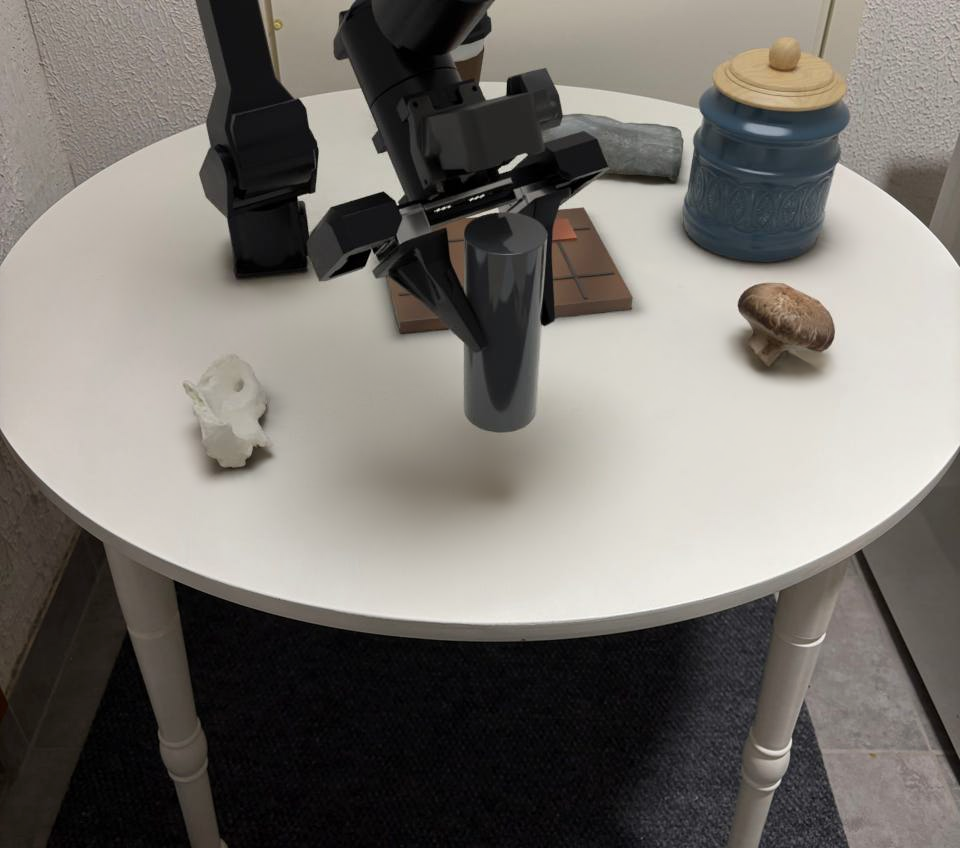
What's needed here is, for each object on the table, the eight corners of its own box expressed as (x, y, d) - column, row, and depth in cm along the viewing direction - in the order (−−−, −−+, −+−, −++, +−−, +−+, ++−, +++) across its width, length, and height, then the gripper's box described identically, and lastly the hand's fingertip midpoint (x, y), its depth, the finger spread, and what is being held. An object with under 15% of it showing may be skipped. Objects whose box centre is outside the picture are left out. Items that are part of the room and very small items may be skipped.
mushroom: (747, 355, 79) (786, 278, 78) (700, 334, 86) (736, 264, 85) (826, 393, 82) (866, 319, 81) (775, 370, 89) (811, 302, 88)
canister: (694, 266, 95) (727, 69, 82) (669, 197, 104) (696, 11, 92) (835, 264, 95) (889, 68, 83) (798, 195, 104) (842, 10, 92)
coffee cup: (403, 101, 120) (398, -10, 112) (497, 108, 119) (499, -3, 111) (382, 143, 112) (374, 27, 104) (482, 151, 111) (483, 34, 103)
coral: (260, 379, 82) (252, 332, 79) (283, 463, 75) (275, 414, 72) (187, 392, 81) (176, 344, 78) (203, 478, 74) (191, 430, 71)
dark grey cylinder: (471, 437, 67) (472, 258, 58) (457, 391, 70) (456, 215, 61) (544, 428, 68) (556, 250, 59) (526, 383, 71) (536, 208, 62)
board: (400, 333, 87) (399, 319, 86) (376, 237, 98) (375, 224, 97) (631, 309, 90) (633, 295, 89) (583, 218, 101) (584, 205, 100)
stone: (529, 171, 107) (673, 201, 107) (536, 136, 104) (684, 167, 104) (541, 116, 114) (675, 144, 114) (548, 81, 111) (686, 110, 111)
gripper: (308, 61, 51) (433, 358, 52) (606, -9, 59) (708, 252, 60) (260, 152, 61) (365, 399, 63) (519, 82, 69) (608, 304, 70)
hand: (515, 337), depth 64 cm, fingers closed on dark grey cylinder, 5 cm apart
